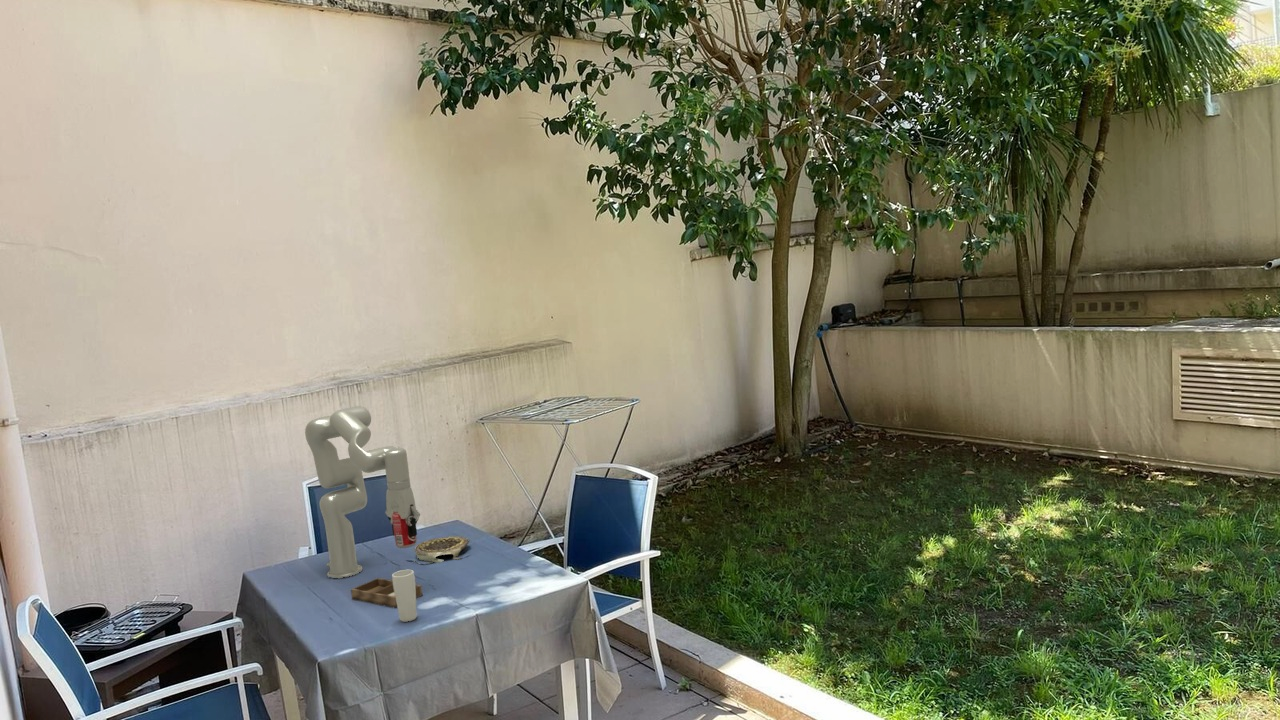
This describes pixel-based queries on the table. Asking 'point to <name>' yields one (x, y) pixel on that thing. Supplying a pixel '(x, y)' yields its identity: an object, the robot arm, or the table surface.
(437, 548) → the pie
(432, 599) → the table surface
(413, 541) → the soda can
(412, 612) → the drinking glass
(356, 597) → the wooden compartment tray
